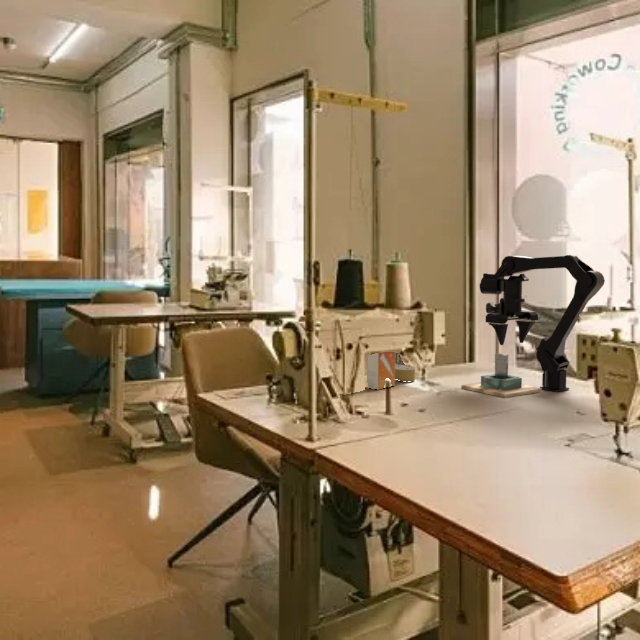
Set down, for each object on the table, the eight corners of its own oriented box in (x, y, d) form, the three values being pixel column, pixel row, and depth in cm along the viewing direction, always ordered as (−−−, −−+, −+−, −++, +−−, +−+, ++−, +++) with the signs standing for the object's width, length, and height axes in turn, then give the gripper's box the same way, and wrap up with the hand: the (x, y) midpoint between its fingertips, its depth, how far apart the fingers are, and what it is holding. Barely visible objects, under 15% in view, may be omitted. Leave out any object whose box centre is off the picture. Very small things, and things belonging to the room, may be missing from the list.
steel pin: (510, 386, 230) (511, 354, 229) (501, 388, 228) (502, 355, 226) (500, 384, 233) (501, 353, 232) (491, 386, 231) (492, 354, 230)
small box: (378, 390, 230) (378, 348, 229) (363, 387, 235) (363, 346, 234) (395, 387, 236) (395, 346, 235) (380, 384, 240) (380, 344, 239)
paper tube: (414, 379, 249) (415, 304, 247) (415, 382, 243) (416, 306, 240) (394, 378, 250) (395, 304, 248) (394, 382, 243) (395, 306, 241)
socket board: (541, 391, 227) (541, 378, 227) (505, 397, 218) (505, 384, 218) (496, 382, 242) (497, 370, 242) (461, 388, 233) (461, 375, 233)
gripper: (513, 292, 249) (512, 339, 251) (473, 295, 239) (472, 343, 240) (539, 294, 240) (538, 342, 241) (499, 297, 229) (498, 347, 231)
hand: (511, 343), depth 239 cm, fingers open, 9 cm apart
